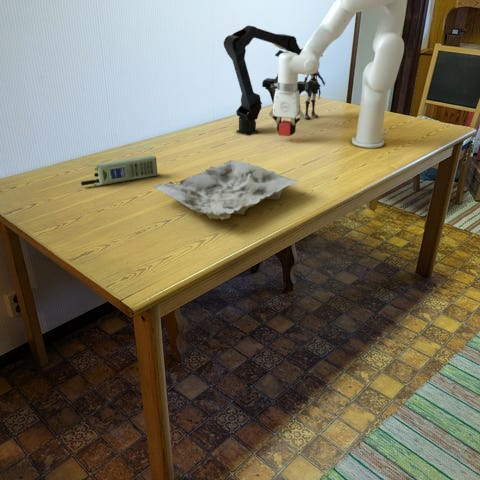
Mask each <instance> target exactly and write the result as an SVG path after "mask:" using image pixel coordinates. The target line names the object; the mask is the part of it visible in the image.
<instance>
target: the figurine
mask: <svg viewBox="0 0 480 480" xmlns="http://www.w3.org/2000/svg"><path fill="white" fill-rule="evenodd" d="M321 57H324V56H323V54H322V56H321ZM309 76H310V79H309V80H308V78H309ZM317 78H318V79H320V81H321V83H322V84H321V85H320V83H319V80H318V79H317ZM303 82H307V83H308V89H307V90H305V91H304V92H306V94H307V95H306V96H307V98H306V100H305V101H304V103H305V114H304V116H305V117H304V118H305V120H311V117H314V118H318V117H319V116H318V114H316V112H315V107H316V101H317V100H316V98H317V94H318V98H317V99H318V100H319V99H320V97H321V94H322V92H321V86H326V81H324V79H323V77H322V75H321V74H320V71H319V70H318V71H317V72H316V73H314V74H311V75H305V77H304V81H303ZM310 105H311V108H312V109H311V116H310V115H309V107H310Z"/></svg>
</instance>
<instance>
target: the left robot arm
mask: <svg viewBox="0 0 480 480" xmlns="http://www.w3.org/2000/svg"><path fill="white" fill-rule="evenodd" d="M254 39H256V40H260V41H264V42H267V43H270V44H272V45H274V46H275V47H277V48H279V50H278V51H277V52H276V53H275V55H274V56H275V57H278V58H279V55H280V54H281V53H285V52H292V53H296V54H298V55H300V53H301V51H302V50H303V48H304V47H303V48H300V46H299V44H298V42H297V38H296V37H295V36H293V35H289V34H285V33H274V32H271V31H267V30H265V29H261V28H259V27H256V26H254V25H246V26H245V27H243V28H242V29H239V30H237V31H235V32H233V33H232V34H230V35H229V34H228V35H227V36H225V38H224V40H223V47H224V49H225V52H226V54H227V55H228V57H229V58H230V59H231V60H232V64H233V67H234V71H235V74H236V78H237V83H238V85H239V88H240V92H241V96H240V106H239V107H238V108H237V110H236V111H235V113H236V116H237V117H238V129H237V130H236V133H239V134H243V135H246V136H249V135H252V134H255V133H257V132H258V130H257V121H256V120H258V118H259V115H260V112H261V110H262V105H263V102H262V101H261V96H260V94H258V93H256V92H254V88H253V84H252V81H251V78H250V73H249V70H248V67H247V63H246V59H245V57H246V51H247V49H246V47H248V46H249V45H250V43H251V42H252V41H253V40H254ZM283 50H284V51H283ZM277 82H278V74H277V75H276V76H275V78H272V77H271V78H270V77H267V78H264V79H263V80H262V83H261V87H262V88H265V90H267V91H268V93H269V95H270V98H271V102H272V105H273V104H274V96H275V91H276V90H277V87H276V86H274V84H275V83H277ZM307 82H308V81H306V82H304V81H299V80H298V86H297V90H299V95H300V96H301V94H302V93H303V92H306V91H305V90H307V89H308V83H307Z"/></svg>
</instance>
